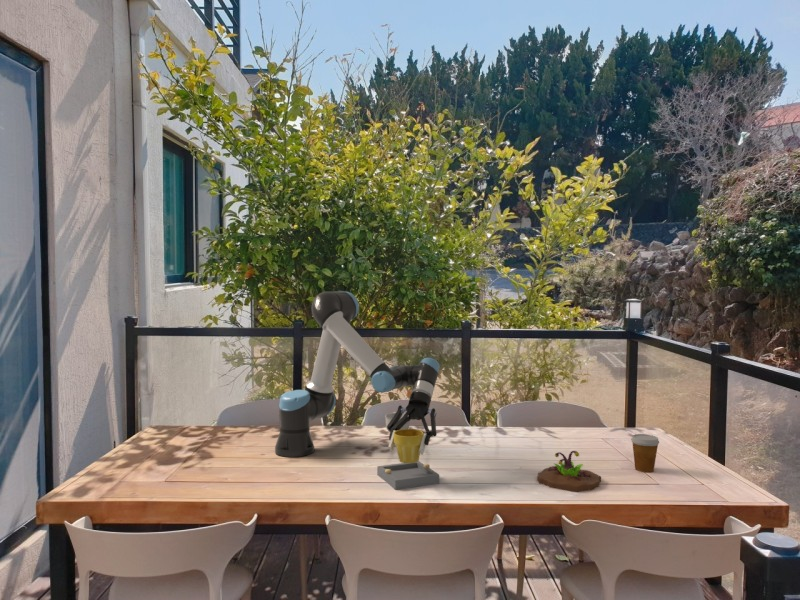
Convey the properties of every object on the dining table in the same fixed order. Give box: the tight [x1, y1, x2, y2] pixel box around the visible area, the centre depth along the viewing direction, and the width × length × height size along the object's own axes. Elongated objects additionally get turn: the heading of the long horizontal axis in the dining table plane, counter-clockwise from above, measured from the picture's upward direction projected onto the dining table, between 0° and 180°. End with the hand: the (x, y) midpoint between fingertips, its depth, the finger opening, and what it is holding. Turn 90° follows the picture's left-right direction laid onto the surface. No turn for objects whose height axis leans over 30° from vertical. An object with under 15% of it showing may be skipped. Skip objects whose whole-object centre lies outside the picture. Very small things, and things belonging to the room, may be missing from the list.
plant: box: [536, 450, 602, 493], centre depth 208 cm, size 20×20×11 cm
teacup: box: [384, 411, 410, 431], centre depth 273 cm, size 14×11×8 cm
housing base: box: [376, 460, 440, 490], centre depth 209 cm, size 16×16×4 cm
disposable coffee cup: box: [630, 433, 660, 473], centre depth 221 cm, size 10×10×12 cm
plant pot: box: [394, 428, 425, 463], centre depth 209 cm, size 10×10×10 cm
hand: (405, 450), depth 206 cm, fingers closed on plant pot, 10 cm apart
